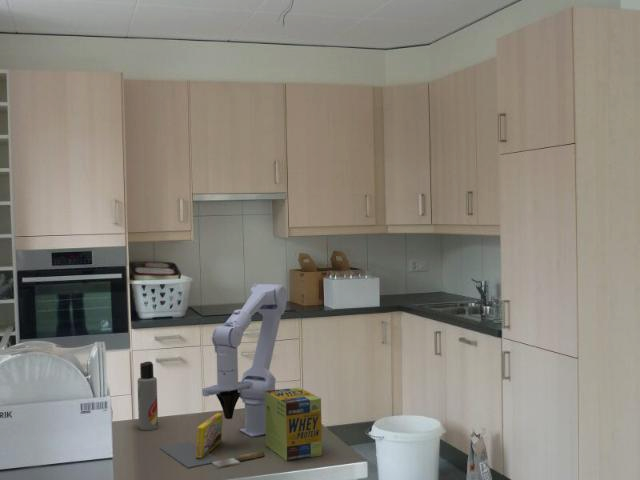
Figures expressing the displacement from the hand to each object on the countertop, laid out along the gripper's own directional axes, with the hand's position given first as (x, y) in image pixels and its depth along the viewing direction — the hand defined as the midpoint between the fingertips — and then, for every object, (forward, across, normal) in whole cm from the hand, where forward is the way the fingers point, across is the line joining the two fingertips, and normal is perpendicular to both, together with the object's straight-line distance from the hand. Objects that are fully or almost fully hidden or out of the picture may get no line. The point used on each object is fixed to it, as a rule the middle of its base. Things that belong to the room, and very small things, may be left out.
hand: (228, 418), depth 219 cm
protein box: (+8, -13, +13) cm, 20 cm away
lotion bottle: (+8, +11, -31) cm, 34 cm away
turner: (+8, +3, +12) cm, 15 cm away
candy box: (+8, +6, 0) cm, 10 cm away
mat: (+8, +12, 0) cm, 14 cm away
